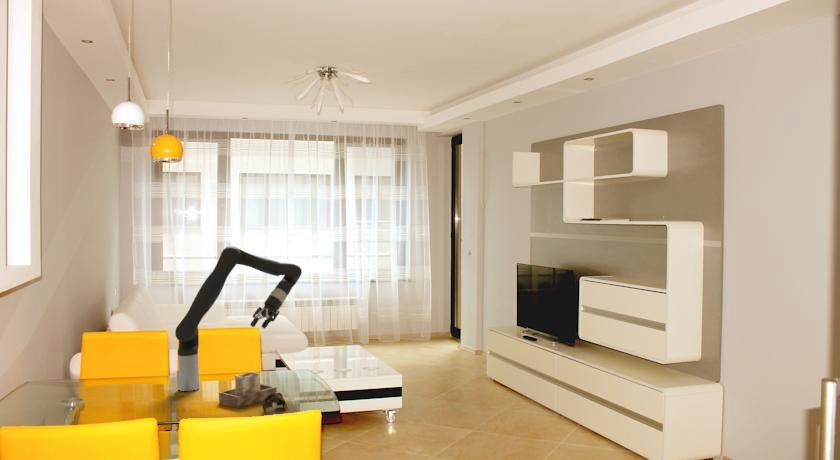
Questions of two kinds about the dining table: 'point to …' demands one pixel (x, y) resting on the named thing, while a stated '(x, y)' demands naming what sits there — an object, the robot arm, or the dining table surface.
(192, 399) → the dining table surface
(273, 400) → the pottery mug
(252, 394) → the walnut crate
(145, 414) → the dining table surface
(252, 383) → the birch crate
